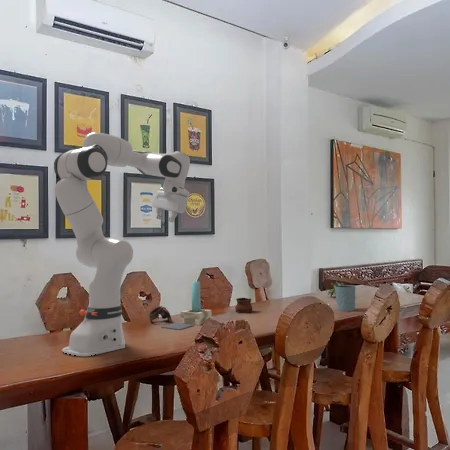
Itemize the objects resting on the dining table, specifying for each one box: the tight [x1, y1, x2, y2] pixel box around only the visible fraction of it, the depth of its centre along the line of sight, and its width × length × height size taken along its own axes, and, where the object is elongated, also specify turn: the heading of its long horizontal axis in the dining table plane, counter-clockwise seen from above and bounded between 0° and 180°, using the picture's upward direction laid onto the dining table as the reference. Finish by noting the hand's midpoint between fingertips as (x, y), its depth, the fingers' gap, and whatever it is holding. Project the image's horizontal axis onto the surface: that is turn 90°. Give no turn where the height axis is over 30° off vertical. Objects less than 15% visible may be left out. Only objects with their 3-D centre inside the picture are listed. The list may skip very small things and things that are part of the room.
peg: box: [190, 281, 202, 312], centre depth 204 cm, size 4×4×18 cm
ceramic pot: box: [234, 297, 253, 314], centre depth 227 cm, size 18×18×7 cm
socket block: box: [180, 308, 213, 326], centre depth 204 cm, size 10×10×5 cm
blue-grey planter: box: [335, 284, 356, 312], centre depth 228 cm, size 10×10×12 cm
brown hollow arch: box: [148, 305, 173, 324], centre depth 206 cm, size 12×10×8 cm
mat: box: [160, 322, 195, 331], centre depth 194 cm, size 10×10×1 cm
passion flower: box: [325, 281, 346, 298], centre depth 269 cm, size 11×11×12 cm
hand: (164, 220), depth 194 cm, fingers open, 8 cm apart
